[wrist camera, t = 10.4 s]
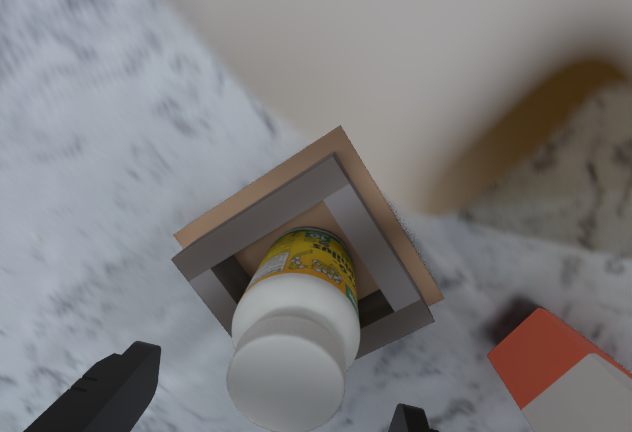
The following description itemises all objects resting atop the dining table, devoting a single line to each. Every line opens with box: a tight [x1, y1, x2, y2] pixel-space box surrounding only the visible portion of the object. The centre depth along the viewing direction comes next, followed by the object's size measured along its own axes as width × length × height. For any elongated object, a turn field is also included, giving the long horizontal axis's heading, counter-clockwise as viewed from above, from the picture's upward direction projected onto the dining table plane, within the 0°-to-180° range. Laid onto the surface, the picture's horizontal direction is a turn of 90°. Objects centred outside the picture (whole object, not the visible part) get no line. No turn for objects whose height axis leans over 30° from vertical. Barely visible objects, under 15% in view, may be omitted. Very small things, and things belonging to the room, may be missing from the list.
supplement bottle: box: [227, 227, 360, 432], centre depth 16 cm, size 5×5×10 cm
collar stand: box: [171, 125, 444, 360], centre depth 19 cm, size 12×12×4 cm
